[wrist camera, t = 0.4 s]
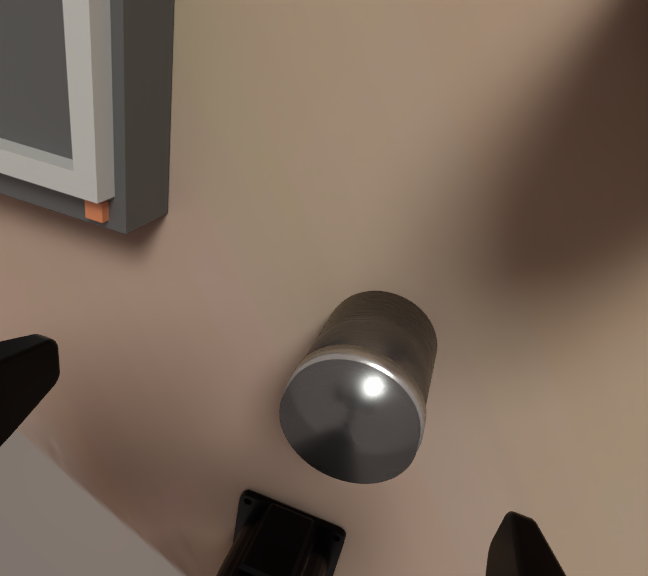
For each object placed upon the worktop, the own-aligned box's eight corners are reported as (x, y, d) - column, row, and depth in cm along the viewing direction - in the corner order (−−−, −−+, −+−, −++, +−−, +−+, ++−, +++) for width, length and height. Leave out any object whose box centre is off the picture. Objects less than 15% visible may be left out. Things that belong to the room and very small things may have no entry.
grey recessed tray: (167, 212, 23) (110, 242, 20) (-10, 157, 25) (-91, 176, 21) (177, -111, 17) (97, -149, 14) (-56, -153, 19) (-178, -195, 16)
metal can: (420, 403, 23) (398, 505, 18) (317, 366, 24) (268, 454, 19) (455, 311, 21) (440, 399, 16) (337, 273, 22) (288, 345, 17)
